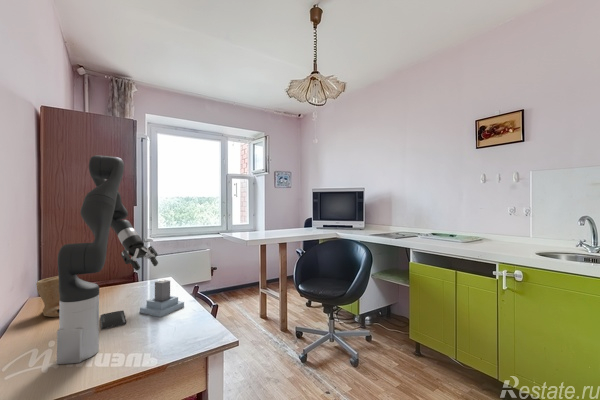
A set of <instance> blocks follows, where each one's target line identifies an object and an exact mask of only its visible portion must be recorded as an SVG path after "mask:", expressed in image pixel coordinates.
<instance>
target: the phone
mask: <svg viewBox="0 0 600 400" xmlns="http://www.w3.org/2000/svg"><path fill="white" fill-rule="evenodd" d="M99 322H100V330H102V331H105V330H108V329H113V328H117V327H121V326H125V325H127V318H126V315H125V312H124V310H117V311H113V312H106V313H102V314H99Z"/></svg>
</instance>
